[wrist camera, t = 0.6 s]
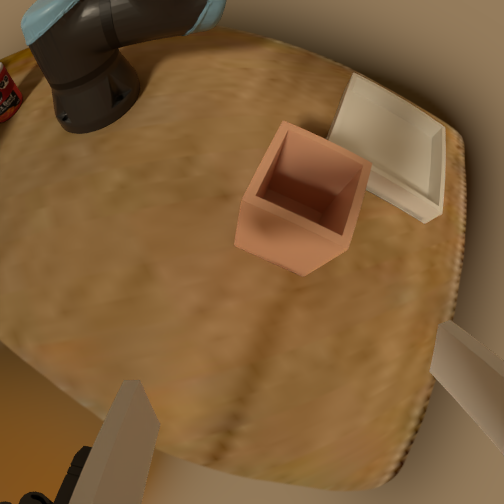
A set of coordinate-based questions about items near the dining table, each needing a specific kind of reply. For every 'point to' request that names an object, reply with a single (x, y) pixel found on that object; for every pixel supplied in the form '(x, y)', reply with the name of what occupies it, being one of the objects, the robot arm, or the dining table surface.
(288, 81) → the dining table surface
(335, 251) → the box
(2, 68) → the canned food
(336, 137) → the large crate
